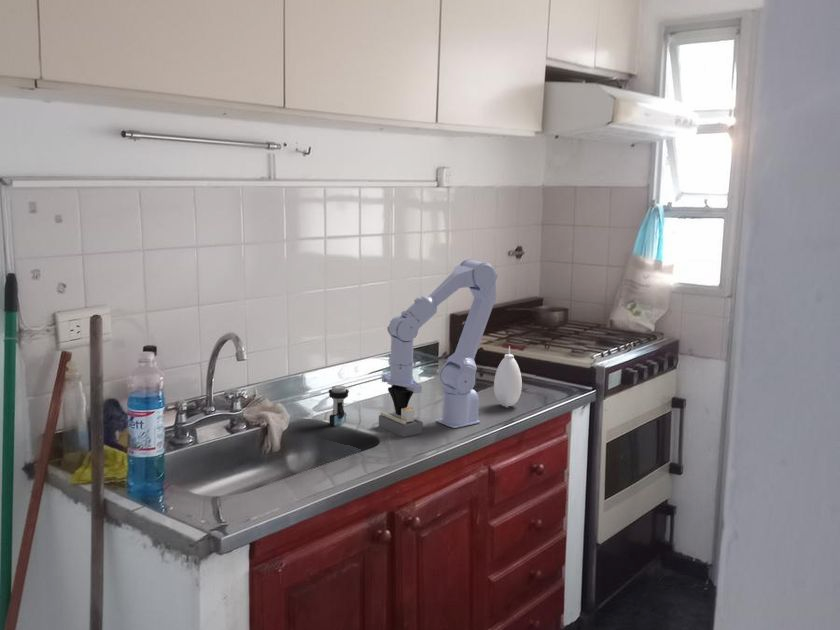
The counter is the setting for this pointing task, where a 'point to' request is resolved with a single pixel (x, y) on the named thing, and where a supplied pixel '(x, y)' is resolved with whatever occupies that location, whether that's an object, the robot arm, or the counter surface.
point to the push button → (338, 405)
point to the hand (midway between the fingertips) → (400, 414)
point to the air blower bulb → (508, 381)
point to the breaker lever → (407, 414)
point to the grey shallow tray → (400, 424)
